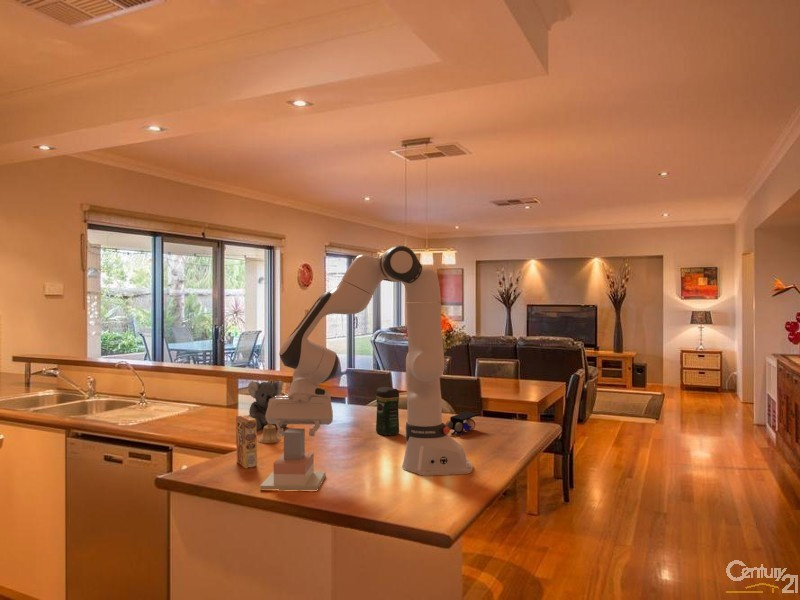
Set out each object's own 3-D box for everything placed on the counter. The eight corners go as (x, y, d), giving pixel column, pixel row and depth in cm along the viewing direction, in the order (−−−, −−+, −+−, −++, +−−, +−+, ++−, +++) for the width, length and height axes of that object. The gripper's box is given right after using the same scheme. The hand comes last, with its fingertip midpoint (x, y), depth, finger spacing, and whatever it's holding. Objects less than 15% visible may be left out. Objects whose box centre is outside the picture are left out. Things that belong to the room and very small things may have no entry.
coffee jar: (402, 434, 228) (402, 387, 228) (385, 437, 223) (385, 389, 223) (389, 429, 236) (389, 384, 235) (372, 432, 231) (372, 386, 231)
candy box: (257, 466, 184) (257, 419, 184) (244, 468, 182) (244, 420, 182) (247, 460, 191) (247, 414, 191) (235, 462, 189) (235, 416, 189)
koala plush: (247, 432, 231) (247, 384, 231) (240, 423, 248) (240, 378, 247) (290, 428, 238) (290, 381, 238) (280, 420, 255) (280, 376, 255)
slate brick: (304, 455, 170) (304, 428, 170) (300, 460, 165) (301, 432, 165) (288, 455, 170) (288, 428, 170) (283, 460, 165) (283, 432, 165)
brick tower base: (325, 476, 174) (325, 451, 174) (316, 491, 160) (316, 465, 160) (273, 475, 175) (273, 451, 175) (260, 490, 161) (260, 464, 161)
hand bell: (273, 437, 223) (273, 396, 223) (284, 440, 217) (284, 398, 217) (254, 440, 217) (254, 398, 217) (265, 444, 212) (265, 401, 212)
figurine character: (459, 441, 223) (479, 429, 235) (458, 422, 222) (478, 411, 234) (445, 438, 228) (465, 427, 239) (443, 419, 227) (464, 409, 238)
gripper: (268, 390, 177) (258, 429, 167) (333, 390, 176) (328, 429, 166) (271, 402, 182) (263, 440, 172) (336, 402, 181) (330, 441, 171)
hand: (295, 435), depth 169 cm, fingers open, 8 cm apart
